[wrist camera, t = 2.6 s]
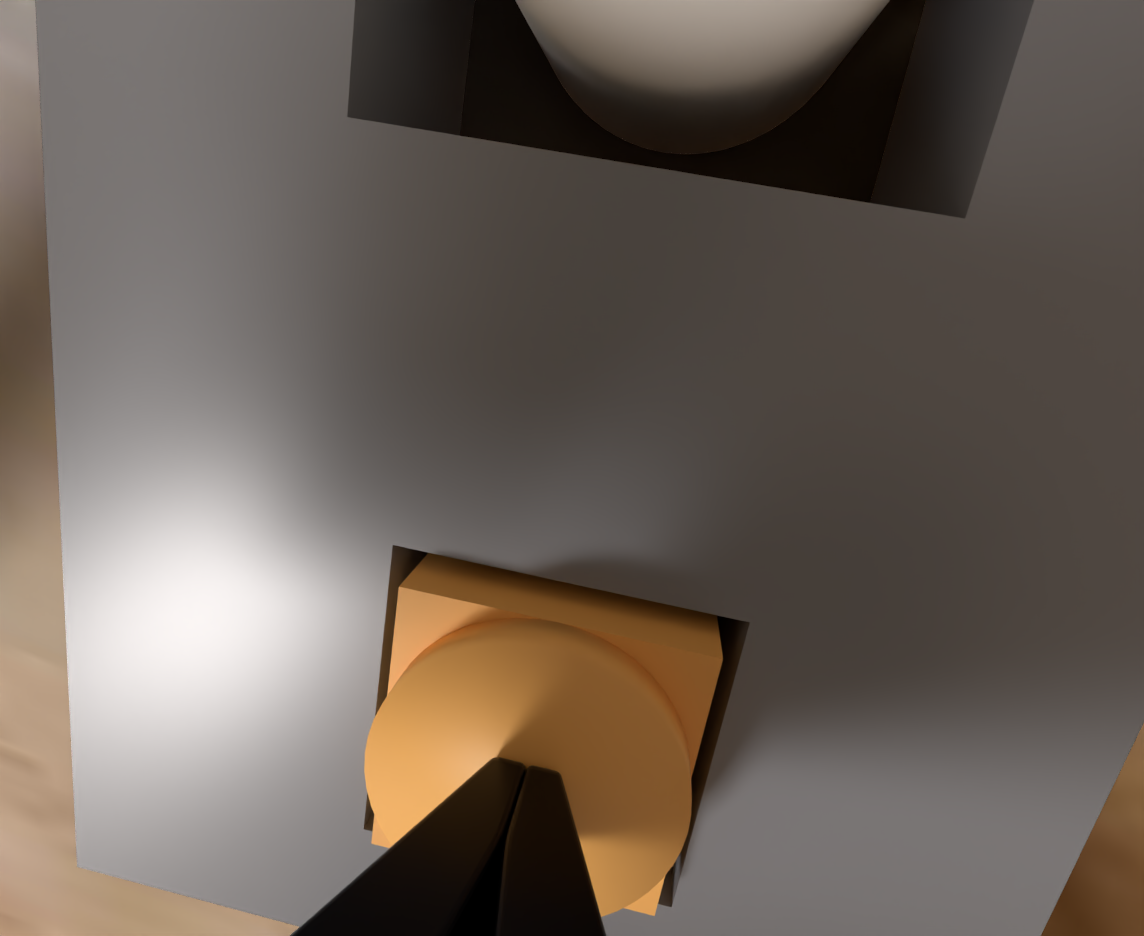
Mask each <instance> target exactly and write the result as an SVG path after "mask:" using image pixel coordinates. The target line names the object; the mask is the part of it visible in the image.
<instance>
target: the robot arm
mask: <svg viewBox="0 0 1144 936" xmlns="http://www.w3.org/2000/svg"><path fill="white" fill-rule="evenodd" d="M290 936H606V932H605V929H604V925H603V921H602V918H601V914H600V911H599V907H598V904H597V900H596V897H595V893H594V889H593V886H592V882H591V879H590V875H589V872H588V868H587V864H586V861H585V857H584V854H583V850H582V847H581V843H580V839H579V836H578V832H577V829H576V825H575V822H574V818H573V815H572V811H571V807H570V804H569V800H568V797H567V793H566V790H565V786H564V782H563V779H562V776H561V774H560V773H559V772H557V771H554V770H550V769H546V768H542V767H538V766H533V765H531V766H529V767H528V768H527V769H526V768H525V765H524V764H523V763H521V762H517V761H513V760H509V759H505V758H500V757H494V758H492V759H490V760H489V761H488V762H487V763H486V764H485V765H484V766H482V767H481V768H480V769H479V770H478V771H477V772H476V773H474V774H473V775H472V776H471V777H470V778H469V779H468V780H467V781H465V782H464V783H463V784H462V785H461V786H460V787H459V788H457V789H456V790H455V791H454V792H453V793H452V794H451V795H449V796H448V797H447V798H446V799H445V800H444V801H443V802H441V803H440V804H439V805H438V806H437V807H436V808H435V809H434V810H432V811H431V812H430V813H429V814H428V815H427V816H426V817H424V818H423V819H422V820H421V821H420V822H419V823H418V824H416V825H415V826H414V827H413V828H412V829H411V830H410V831H408V832H407V833H406V834H405V835H404V836H403V837H402V838H400V839H399V840H398V841H397V842H396V843H395V844H394V845H393V846H391V847H390V848H389V849H388V850H387V851H386V852H385V853H383V854H382V855H381V856H380V857H379V858H378V859H377V860H375V861H374V862H373V863H372V864H371V865H370V866H369V867H367V868H366V869H365V870H364V871H363V872H362V873H361V874H359V875H358V876H357V877H356V878H355V879H354V880H353V881H352V882H350V883H349V884H348V885H347V886H346V887H345V888H344V889H342V890H341V891H340V892H339V893H338V894H337V895H336V896H334V897H333V898H332V899H331V900H330V901H329V902H328V903H326V904H325V905H324V906H323V907H322V908H321V909H320V910H318V911H317V912H316V913H315V914H314V915H313V916H312V917H311V918H309V919H308V920H307V921H306V922H305V923H304V924H303V925H301V926H300V927H299V928H298V929H297V930H296V931H295V932H293V933H292V934H291V935H290Z"/></svg>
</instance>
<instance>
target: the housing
mask: <svg viewBox="0 0 1144 936" xmlns="http://www.w3.org/2000/svg"><path fill="white" fill-rule="evenodd" d="M35 3H36V24H37V45H38V65H39V86H40V107H41V128H42V148H43V169H44V190H45V210H46V231H47V252H48V273H49V293H50V314H51V335H52V355H53V376H54V397H55V418H56V438H57V459H58V480H59V500H60V521H61V542H62V563H63V583H64V604H65V625H66V645H67V666H68V687H69V708H70V728H71V749H72V770H73V791H74V811H75V832H76V853H77V867H80V868H84V869H87V870H91V871H95V872H98V873H102V874H106V875H110V876H113V877H117V878H121V879H124V880H128V881H132V882H136V883H139V884H143V885H147V886H150V887H154V888H158V889H162V890H165V891H169V892H173V893H177V894H180V895H184V896H188V897H191V898H195V899H199V900H203V901H206V902H210V903H214V904H217V905H221V906H225V907H229V908H232V909H236V910H240V911H244V912H247V913H251V914H255V915H258V916H262V917H266V918H270V919H273V920H277V921H281V922H284V923H288V924H292V925H296V926H299V927H300V926H301V925H303V924H304V923H305V922H306V921H307V920H308V919H309V918H311V917H312V916H313V915H314V914H315V913H316V912H317V911H318V910H320V909H321V908H322V907H323V906H324V905H325V904H326V903H328V902H329V901H330V900H331V899H332V898H333V897H334V896H336V895H337V894H338V893H339V892H340V891H341V890H342V889H344V888H345V887H346V886H347V885H348V884H349V883H350V882H352V881H353V880H354V879H355V878H356V877H357V876H358V875H359V874H361V873H362V872H363V871H364V870H365V869H366V868H367V867H369V866H370V865H371V864H372V863H373V862H374V861H375V860H377V859H378V858H379V857H380V856H381V855H382V854H383V853H385V852H386V851H387V850H388V849H389V848H387V847H383V846H379V845H375V844H371V841H372V832H373V823H374V812H373V810H372V807H371V804H370V800H369V796H368V793H367V789H366V781H365V773H364V765H365V749H366V744H367V738H368V734H369V731H370V729H371V726H372V723H373V720H374V718H375V716H376V714H377V712H378V710H379V709H380V707H381V705H382V703H383V702H384V700H385V699H386V697H387V692H388V683H389V674H390V664H391V655H392V646H393V636H394V627H395V618H396V608H397V599H398V590H399V586H400V585H401V584H402V582H403V581H404V580H405V579H406V578H407V577H408V576H409V574H410V573H411V572H412V571H413V570H414V569H415V568H416V566H417V565H418V564H419V563H420V562H421V561H422V560H423V558H424V557H425V556H426V555H427V554H428V553H432V554H437V555H442V556H446V557H451V558H455V559H460V560H465V561H469V562H474V563H478V564H483V565H488V566H492V567H497V568H501V569H506V570H511V571H515V572H520V573H524V574H529V575H534V576H538V577H543V578H547V579H552V580H557V581H561V582H566V583H570V584H575V585H580V586H584V587H589V588H593V589H598V590H603V591H607V592H612V593H616V594H621V595H626V596H630V597H635V598H639V599H644V600H649V601H653V602H658V603H663V604H667V605H672V606H676V607H681V608H686V609H690V610H695V611H699V612H704V613H709V614H713V615H717V620H718V627H719V634H720V641H721V648H722V654H723V661H722V665H721V669H720V672H719V676H718V680H717V684H716V687H715V691H714V695H713V699H712V702H711V706H710V710H709V714H708V717H707V721H706V725H705V729H704V732H703V736H702V740H701V744H700V747H699V751H698V755H697V759H696V762H695V766H694V770H693V774H692V777H691V790H692V806H691V819H690V824H689V830H688V834H687V837H686V839H685V842H684V845H683V848H682V850H681V852H680V854H679V856H678V857H677V859H676V861H675V863H674V865H673V866H672V867H671V869H670V870H669V871H668V872H667V874H666V875H665V879H664V883H663V886H662V890H661V894H660V898H659V901H658V905H657V909H656V913H655V916H652V915H648V914H645V913H641V912H637V911H633V910H629V909H625V908H622V909H620V910H618V911H616V912H614V913H611V914H608V915H605V916H603V917H601V918H602V921H603V925H604V929H605V932H606V936H1041V934H1042V932H1043V930H1044V928H1045V926H1046V924H1047V922H1048V920H1049V918H1050V916H1051V913H1052V911H1053V909H1054V907H1055V905H1056V903H1057V901H1058V899H1059V897H1060V895H1061V893H1062V891H1063V889H1064V887H1065V885H1066V882H1067V880H1068V878H1069V876H1070V874H1071V872H1072V870H1073V868H1074V866H1075V864H1076V862H1077V860H1078V858H1079V856H1080V853H1081V851H1082V849H1083V847H1084V845H1085V843H1086V841H1087V839H1088V837H1089V835H1090V833H1091V831H1092V829H1093V827H1094V824H1095V822H1096V820H1097V818H1098V816H1099V814H1100V812H1101V810H1102V808H1103V806H1104V804H1105V802H1106V800H1107V798H1108V796H1109V793H1110V791H1111V789H1112V787H1113V785H1114V783H1115V781H1116V779H1117V777H1118V775H1119V773H1120V771H1121V769H1122V767H1123V764H1124V762H1125V760H1126V758H1127V756H1128V754H1129V752H1130V750H1131V748H1132V746H1133V744H1134V742H1135V740H1136V738H1137V735H1138V733H1139V731H1140V729H1141V727H1142V725H1143V723H1144V0H926V2H925V5H924V9H923V12H922V16H921V20H920V23H919V27H918V31H917V34H916V38H915V41H914V45H913V49H912V52H911V56H910V59H909V63H908V67H907V70H906V74H905V78H904V81H903V85H902V88H901V92H900V96H899V99H898V103H897V107H896V110H895V114H894V117H893V121H892V125H891V128H890V132H889V135H888V139H887V143H886V146H885V150H884V154H883V157H882V161H881V164H880V168H879V172H878V175H877V179H876V182H875V186H874V190H873V193H872V197H871V201H870V203H867V202H861V201H855V200H849V199H843V198H837V197H830V196H824V195H818V194H812V193H806V192H800V191H794V190H788V189H782V188H776V187H770V186H764V185H757V184H751V183H745V182H739V181H733V180H727V179H721V178H715V177H709V176H703V175H697V174H690V173H684V172H678V171H672V170H666V169H660V168H654V167H648V166H642V165H636V164H630V163H623V162H617V161H611V160H605V159H599V158H593V157H587V156H581V155H575V154H569V153H563V152H557V151H550V150H544V149H538V148H532V147H526V146H520V145H514V144H508V143H502V142H496V141H490V140H483V139H477V138H471V137H465V136H460V130H461V121H462V112H463V103H464V94H465V85H466V76H467V67H468V58H469V49H470V40H471V31H472V23H473V14H474V5H475V0H35Z"/></svg>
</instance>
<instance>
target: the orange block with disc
mask: <svg viewBox="0 0 1144 936" xmlns="http://www.w3.org/2000/svg"><path fill="white" fill-rule="evenodd" d="M722 661H723V654H722V648H721V641H720V634H719V627H718V620H717V615H713V614H709V613H704V612H699V611H695V610H690V609H686V608H681V607H676V606H672V605H667V604H663V603H658V602H653V601H649V600H644V599H639V598H635V597H630V596H626V595H621V594H616V593H612V592H607V591H603V590H598V589H593V588H589V587H584V586H580V585H575V584H570V583H566V582H561V581H557V580H552V579H547V578H543V577H538V576H534V575H529V574H524V573H520V572H515V571H511V570H506V569H501V568H497V567H492V566H488V565H483V564H478V563H474V562H469V561H465V560H460V559H455V558H451V557H446V556H442V555H437V554H432V553H428V554H427V555H426V556H425V557H424V558H423V560H422V561H421V562H420V563H419V564H418V565H417V566H416V568H415V569H414V570H413V571H412V572H411V573H410V574H409V576H408V577H407V578H406V579H405V580H404V581H403V582H402V584H401V585H400V586H399V590H398V599H397V608H396V618H395V627H394V636H393V646H392V655H391V664H390V674H389V683H388V692H387V697H386V699H385V700H384V702H383V703H382V705H381V707H380V709H379V710H378V712H377V714H376V716H375V718H374V720H373V723H372V726H371V729H370V731H369V734H368V738H367V744H366V749H365V765H364V773H365V781H366V789H367V793H368V796H369V800H370V804H371V807H372V810H373V812H374V823H373V832H372V841H371V844H375V845H379V846H383V847H387V848H390V847H391V846H393V845H394V844H395V843H396V842H397V841H398V840H399V839H400V838H402V837H403V836H404V835H405V834H406V833H407V832H408V831H410V830H411V829H412V828H413V827H414V826H415V825H416V824H418V823H419V822H420V821H421V820H422V819H423V818H424V817H426V816H427V815H428V814H429V813H430V812H431V811H432V810H434V809H435V808H436V807H437V806H438V805H439V804H440V803H441V802H443V801H444V800H445V799H446V798H447V797H448V796H449V795H451V794H452V793H453V792H454V791H455V790H456V789H457V788H459V787H460V786H461V785H462V784H463V783H464V782H465V781H467V780H468V779H469V778H470V777H471V776H472V775H473V774H474V773H476V772H477V771H478V770H479V769H480V768H481V767H482V766H484V765H485V764H486V763H487V762H488V761H489V760H490V759H492V758H494V757H500V758H505V759H509V760H513V761H517V762H521V763H523V764H524V765H525V768H526V769H527V768H528V767H529V766H531V765H533V766H538V767H542V768H546V769H550V770H554V771H557V772H559V773H560V774H561V776H562V779H563V782H564V786H565V790H566V793H567V797H568V800H569V804H570V807H571V811H572V815H573V818H574V822H575V825H576V829H577V832H578V836H579V839H580V843H581V847H582V850H583V854H584V857H585V861H586V864H587V868H588V872H589V875H590V879H591V882H592V886H593V889H594V893H595V897H596V900H597V904H598V907H599V911H600V914H601V917H603V916H605V915H608V914H611V913H614V912H616V911H618V910H620V909H622V908H625V909H629V910H633V911H637V912H641V913H645V914H648V915H652V916H655V913H656V909H657V905H658V901H659V898H660V894H661V890H662V886H663V883H664V879H665V875H666V874H667V872H668V871H669V870H670V869H671V867H672V866H673V865H674V863H675V861H676V859H677V857H678V856H679V854H680V852H681V850H682V848H683V845H684V842H685V839H686V837H687V834H688V830H689V824H690V819H691V806H692V790H691V777H692V774H693V770H694V766H695V762H696V759H697V755H698V751H699V747H700V744H701V740H702V736H703V732H704V729H705V725H706V721H707V717H708V714H709V710H710V706H711V702H712V699H713V695H714V691H715V687H716V684H717V680H718V676H719V672H720V669H721V665H722Z"/></svg>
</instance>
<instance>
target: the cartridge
mask: <svg viewBox="0 0 1144 936" xmlns="http://www.w3.org/2000/svg"><path fill="white" fill-rule="evenodd" d="M515 1H516V3H517V4H518V6H519V8H520V10H521V12H522V14H523V15H524V17H525V19H526V21H527V23H528V25H529V26H530V28H531V30H532V32H533V34H534V36H535V37H536V39H537V41H538V43H539V45H540V47H541V48H542V50H543V52H544V54H545V56H546V58H547V59H548V61H549V63H550V65H551V67H552V68H553V70H554V72H555V74H556V76H557V77H558V79H559V81H560V83H561V85H562V86H563V87H564V89H565V90H566V91H567V93H568V94H569V95H570V97H571V98H572V99H573V101H574V102H575V103H576V104H577V105H578V106H579V107H580V108H581V109H582V110H583V111H584V112H585V113H586V114H587V115H588V116H589V117H590V118H591V119H592V120H594V121H595V122H596V123H597V124H599V125H600V126H601V127H603V128H604V129H605V130H607V131H608V132H610V133H612V134H614V135H615V136H617V137H619V138H621V139H622V140H624V141H627V142H629V143H632V144H634V145H637V146H639V147H642V148H646V149H650V150H654V151H658V152H663V153H673V154H701V153H709V152H714V151H719V150H725V149H728V148H731V147H734V146H737V145H740V144H743V143H746V142H748V141H750V140H752V139H754V138H756V137H759V136H761V135H763V134H765V133H767V132H768V131H770V130H771V129H773V128H774V127H776V126H778V125H779V124H781V123H782V122H784V121H785V120H787V119H788V118H789V117H790V116H792V115H793V114H794V113H795V112H796V111H797V110H799V109H800V108H801V107H802V106H803V105H805V104H806V103H807V102H808V100H809V99H810V98H811V97H812V96H813V95H814V94H815V93H816V92H817V91H818V90H819V89H820V88H821V87H822V85H823V84H824V83H825V82H826V80H827V79H828V78H829V77H830V75H831V74H832V73H833V72H834V70H835V69H836V68H837V67H838V65H839V64H840V63H841V62H842V60H843V59H844V58H845V57H846V55H847V54H848V53H849V51H850V50H851V49H852V48H853V46H854V45H855V44H856V43H857V41H858V40H859V39H860V38H861V36H862V35H863V34H864V33H865V31H866V30H867V29H868V28H869V26H870V25H871V24H872V22H873V21H874V20H875V19H876V17H877V16H878V15H879V14H880V12H881V11H882V10H883V9H884V7H885V6H886V5H887V4H888V2H889V1H890V0H515Z"/></svg>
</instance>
